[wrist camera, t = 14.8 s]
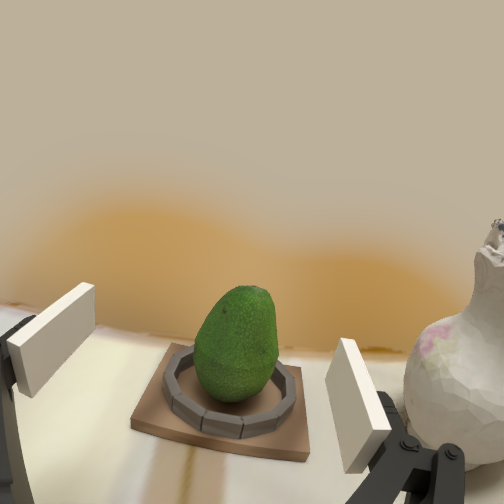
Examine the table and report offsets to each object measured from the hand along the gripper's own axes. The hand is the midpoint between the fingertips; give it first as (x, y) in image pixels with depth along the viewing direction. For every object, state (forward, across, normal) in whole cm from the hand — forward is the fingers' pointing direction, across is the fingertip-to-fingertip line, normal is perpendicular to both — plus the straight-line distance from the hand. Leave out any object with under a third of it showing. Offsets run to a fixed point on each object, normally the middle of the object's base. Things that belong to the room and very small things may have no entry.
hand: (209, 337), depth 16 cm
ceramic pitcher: (+8, +28, -15) cm, 33 cm away
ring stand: (+12, +2, -15) cm, 19 cm away
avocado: (+12, +2, -14) cm, 18 cm away
